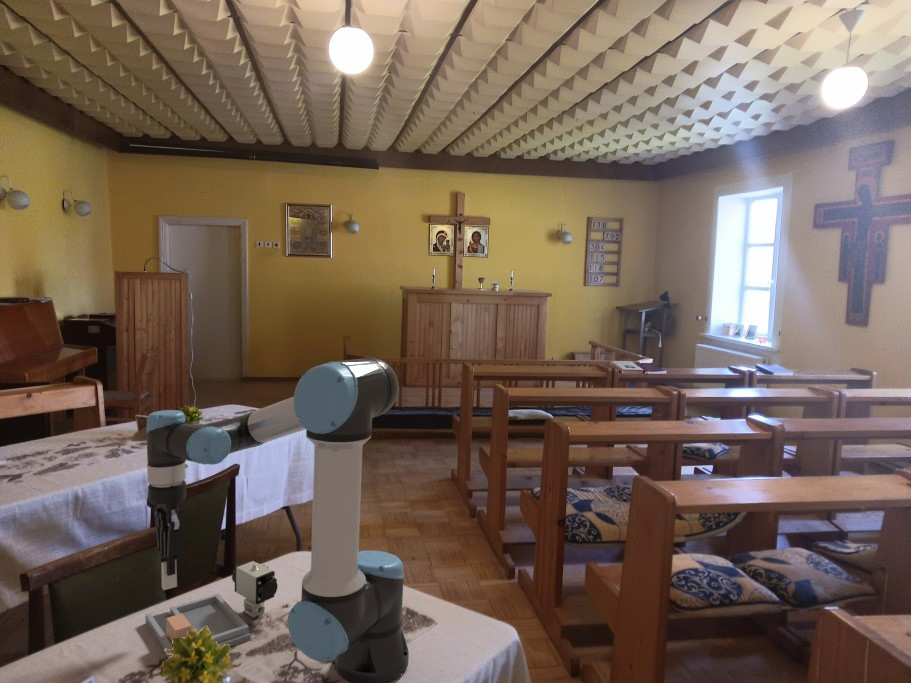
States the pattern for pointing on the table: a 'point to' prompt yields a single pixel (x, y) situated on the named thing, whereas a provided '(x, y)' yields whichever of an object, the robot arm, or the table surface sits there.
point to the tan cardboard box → (176, 627)
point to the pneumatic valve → (254, 586)
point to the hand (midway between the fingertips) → (169, 587)
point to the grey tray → (203, 621)
